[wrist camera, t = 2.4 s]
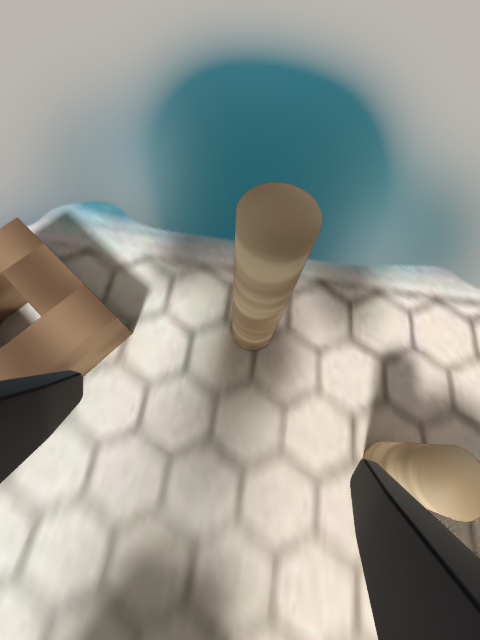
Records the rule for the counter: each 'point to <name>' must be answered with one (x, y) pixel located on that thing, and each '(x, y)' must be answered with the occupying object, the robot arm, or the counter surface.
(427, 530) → the robot arm
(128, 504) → the counter surface
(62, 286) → the walnut socket block
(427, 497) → the short oak dowel
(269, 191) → the tall oak dowel
